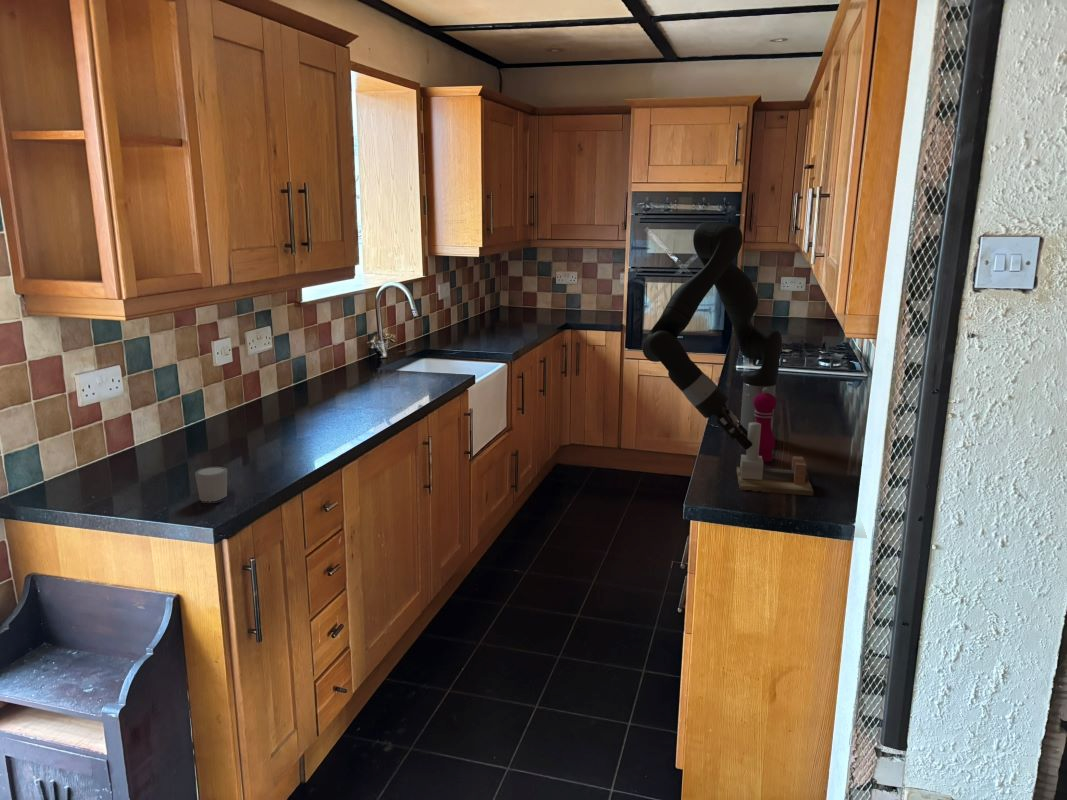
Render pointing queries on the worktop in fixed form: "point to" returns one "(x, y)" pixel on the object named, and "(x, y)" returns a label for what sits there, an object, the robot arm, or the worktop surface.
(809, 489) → the track
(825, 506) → the worktop surface
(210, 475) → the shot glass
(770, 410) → the pepper mill
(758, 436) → the white handled block
